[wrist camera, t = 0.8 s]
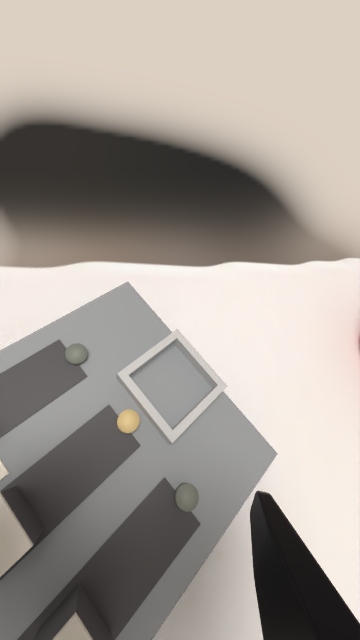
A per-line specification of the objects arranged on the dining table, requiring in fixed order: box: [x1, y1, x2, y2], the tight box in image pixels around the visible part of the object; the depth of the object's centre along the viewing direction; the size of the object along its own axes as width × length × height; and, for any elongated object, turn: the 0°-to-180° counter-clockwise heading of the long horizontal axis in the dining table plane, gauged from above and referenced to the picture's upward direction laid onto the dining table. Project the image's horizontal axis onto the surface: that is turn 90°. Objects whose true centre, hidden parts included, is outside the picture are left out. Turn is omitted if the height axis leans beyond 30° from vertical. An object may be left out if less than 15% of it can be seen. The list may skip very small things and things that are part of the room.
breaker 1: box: [0, 486, 44, 577], centre depth 13 cm, size 2×3×4 cm
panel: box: [0, 282, 277, 640], centre depth 18 cm, size 20×20×3 cm
